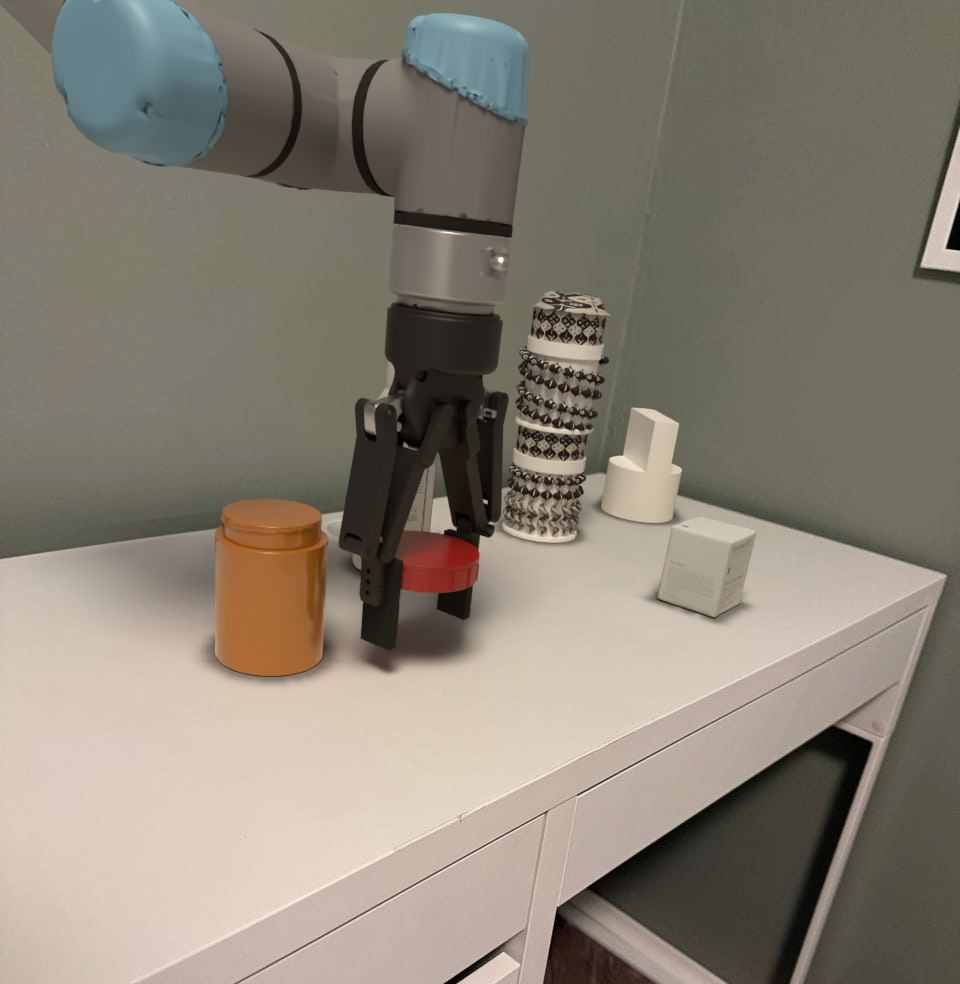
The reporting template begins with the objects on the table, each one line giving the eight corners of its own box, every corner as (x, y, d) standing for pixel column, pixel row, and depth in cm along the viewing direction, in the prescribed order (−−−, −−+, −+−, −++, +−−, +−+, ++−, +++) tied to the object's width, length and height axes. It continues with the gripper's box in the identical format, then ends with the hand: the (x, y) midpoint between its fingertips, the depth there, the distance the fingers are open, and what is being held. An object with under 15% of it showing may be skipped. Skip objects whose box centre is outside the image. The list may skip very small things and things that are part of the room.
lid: (494, 590, 65) (497, 565, 64) (386, 595, 62) (388, 569, 61) (452, 553, 72) (455, 529, 71) (353, 555, 68) (354, 531, 68)
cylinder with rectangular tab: (591, 499, 118) (607, 405, 114) (657, 503, 120) (675, 411, 115) (613, 520, 110) (631, 420, 106) (683, 524, 112) (704, 426, 107)
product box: (714, 619, 83) (732, 542, 80) (654, 599, 87) (669, 524, 84) (740, 604, 88) (758, 530, 85) (683, 585, 91) (698, 514, 88)
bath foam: (370, 550, 90) (384, 337, 82) (436, 564, 89) (457, 349, 81) (339, 570, 84) (351, 342, 76) (409, 585, 83) (429, 355, 75)
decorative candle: (517, 513, 109) (547, 287, 99) (591, 530, 105) (629, 299, 95) (484, 530, 101) (512, 287, 91) (562, 549, 97) (601, 299, 88)
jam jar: (192, 650, 66) (190, 506, 62) (273, 623, 72) (276, 491, 67) (265, 687, 62) (268, 536, 58) (344, 655, 68) (352, 517, 64)
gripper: (382, 311, 50) (358, 687, 59) (577, 314, 66) (535, 609, 75) (285, 293, 53) (276, 649, 62) (492, 300, 69) (461, 583, 78)
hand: (417, 627), depth 69 cm, fingers closed on lid, 8 cm apart
